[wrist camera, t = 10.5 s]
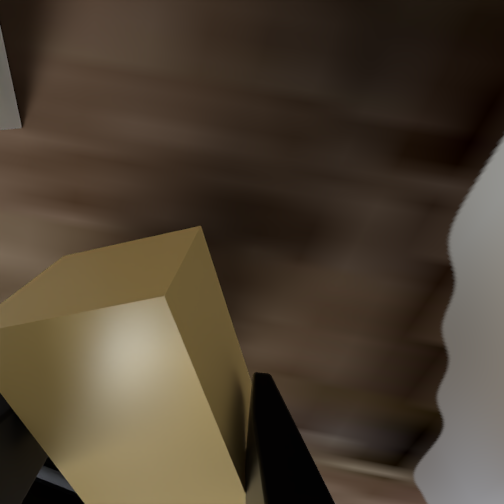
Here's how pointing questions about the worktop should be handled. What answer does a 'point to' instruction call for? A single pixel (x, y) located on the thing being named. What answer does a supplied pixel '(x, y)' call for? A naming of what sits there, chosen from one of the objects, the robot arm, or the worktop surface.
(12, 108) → the storage box
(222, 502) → the tan rectangular prism
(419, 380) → the worktop surface
